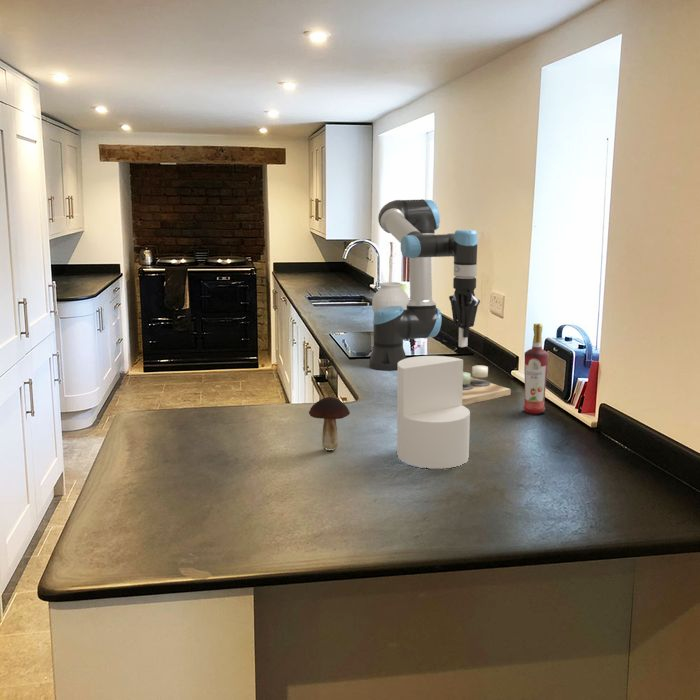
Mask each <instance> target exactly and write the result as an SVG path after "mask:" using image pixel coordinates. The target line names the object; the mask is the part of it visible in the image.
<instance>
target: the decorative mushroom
mask: <svg viewBox="0 0 700 700" xmlns="http://www.w3.org/2000/svg"><path fill="white" fill-rule="evenodd" d="M308 414H309V416H311V417H312V418H314V419H323V425H322V435H321V436H322V437H321V438H322V439H321V440H322V447H324V448H327V449H334V448H336V449H337V448H338V445H339V437H338V436H339V435H338V427H337V420H338V419H339V420H340V419H344V418H346V417H348V416H349V415H350V414H351V412H350V410H349V408H348V407H347V405H346V404H345V403H344V402H343V401H341V399H338V398H336V397H334V396H327V397H324V398H321V399H319V400H318V401H316V402H315V403H314V404H313V405H311V407H310V409H309V411H308ZM324 448H323V449H324Z"/></svg>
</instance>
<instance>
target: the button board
mask: <svg viewBox="0 0 700 700" xmlns="http://www.w3.org/2000/svg"><path fill="white" fill-rule="evenodd" d="M511 393H512V389H511V388H508V387H505V386H501V385H498V384H496V383H492V382H490V381H489V380H487V379H486V380H485V379H480V378H477V377H473V376H471V379H470V384H463V391H462V406H466V405H471V404H475V403H480V402H484V401H489V400H495V399H499V398H501V397H502V398H503V397H506V396H511V395H512V394H511Z"/></svg>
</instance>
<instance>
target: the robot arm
mask: <svg viewBox="0 0 700 700" xmlns="http://www.w3.org/2000/svg"><path fill="white" fill-rule="evenodd" d="M377 222H378V225H379V226H380V228H381V230H383V231H384V232H385V233H387V234H391V235H392V236H393V237H394V238H395V239H396V240H397V241H398V242H399V243H400V252H401V255H402V256H403V258H407V259H408V258H409V260H408V261H409V265H408V266H409V303H408V304H407V310H404V309H403V307H401V306H389V307H384V308H380V309H378V310H376V311H375V313H373V321H372V323H373V346H372V347H373V348H372V350H371V354H370V358H369V360H368V361H369V362H368V364H369V365H368V366H369V367H370V368H372V369H374V370H381V371H395V370H397V371H398V362H399V361H401V360H403V359H406V358H407V356H406V352H405V349H404V340H410V339H411V340H412V339H413V340H414V339H428V338H434V337H436V336H437V335H438V334H439V332H440V330H441V328H442V327H441V326H442V311H441V309H440V308H438V307H437V304H436V302H435V301H433V289H432V288H433V283H432V281H433V280H432V279H433V277H432V258H440V257H441V258H445V257H451V258H452V257H453V276H454V277H453V281H452V282H453V283H452V286H453V289H454V292H453V293H454V294H452V295H449V296H448V299H449V301H450V307H451V313H452V320H453V325H456V327H457V336H458V347H459V348H465V347H468V343H469V342H468V339H469V336H470V328H472V327H474V326H475V321H476V315H477V311H478V307H479V305H480V303H481V300H480V299H477V298H476V297H475V296H476V294H475V289H476V287H477V278H476V276H477V272H478V271H477V270H478V269H477V268H478V267H477V265H478V264H477V262H478V243H479V240H478V232H477V230H475V229H456V230H455V232H453V233H446V234H445V233H444V234H436V233H435V231H437V230H438V229H439V228H440V222H441V216H440V211H439V207H438V206H437V204H436V203H435V201H433V200H432V199H424V198H422V199H395V200H392V201H390V202H389V201H388V202H387V203H386V204H384V205H383V207H382V208H381V209H380V210H379V213H378V220H377Z"/></svg>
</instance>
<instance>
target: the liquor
mask: <svg viewBox="0 0 700 700" xmlns="http://www.w3.org/2000/svg"><path fill="white" fill-rule="evenodd" d="M543 327H544V326H543V323H533V329H532V330H533V339H532V347H531V348H530V349H528V350H526V351H525V352H524V365H523V366H524V368H523V369H524V402H523V403H524V405H523V406H522V409H524V411H525V412H526V413H527V414H530V415H539V414H542V413H543V412H545V410H546V406H545V398H546V389H547V388H546V386H547V379H548V372H549V371H548V368H549V358H550V353H549V352H548V351H546V350H545V349H543V340H542V339H543V338H542V335H543Z"/></svg>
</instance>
